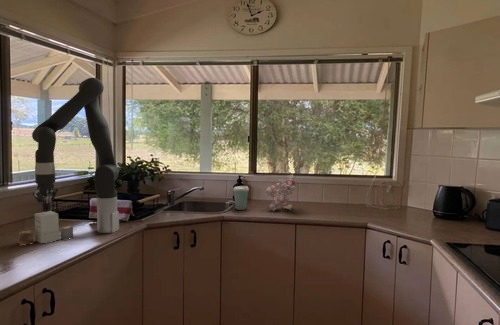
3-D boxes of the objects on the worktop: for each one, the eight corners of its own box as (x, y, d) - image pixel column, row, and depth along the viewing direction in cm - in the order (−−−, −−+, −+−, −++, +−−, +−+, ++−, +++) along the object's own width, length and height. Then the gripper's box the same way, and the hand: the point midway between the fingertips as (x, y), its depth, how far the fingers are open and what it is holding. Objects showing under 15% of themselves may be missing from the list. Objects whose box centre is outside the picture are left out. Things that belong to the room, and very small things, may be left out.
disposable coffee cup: (239, 211, 216) (240, 188, 214) (229, 208, 223) (229, 186, 222) (251, 209, 223) (252, 187, 221) (241, 206, 231) (241, 184, 229)
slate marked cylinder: (75, 237, 156) (75, 226, 155) (68, 240, 151) (68, 229, 150) (65, 236, 157) (65, 225, 156) (58, 239, 152) (58, 228, 151)
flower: (263, 202, 238) (262, 173, 225) (294, 199, 239) (295, 170, 226) (266, 221, 221) (265, 190, 208) (300, 218, 222) (301, 187, 209)
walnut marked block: (32, 241, 149) (32, 229, 149) (33, 244, 145) (33, 232, 145) (19, 243, 146) (18, 231, 146) (19, 246, 142) (19, 234, 142)
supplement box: (52, 237, 155) (52, 210, 154) (59, 240, 150) (58, 213, 149) (34, 241, 149) (34, 213, 148) (41, 244, 144) (40, 216, 143)
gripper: (41, 174, 140) (43, 215, 141) (63, 171, 153) (64, 208, 154) (25, 174, 141) (27, 214, 142) (48, 170, 154) (49, 207, 155)
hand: (46, 211), depth 148 cm, fingers closed
